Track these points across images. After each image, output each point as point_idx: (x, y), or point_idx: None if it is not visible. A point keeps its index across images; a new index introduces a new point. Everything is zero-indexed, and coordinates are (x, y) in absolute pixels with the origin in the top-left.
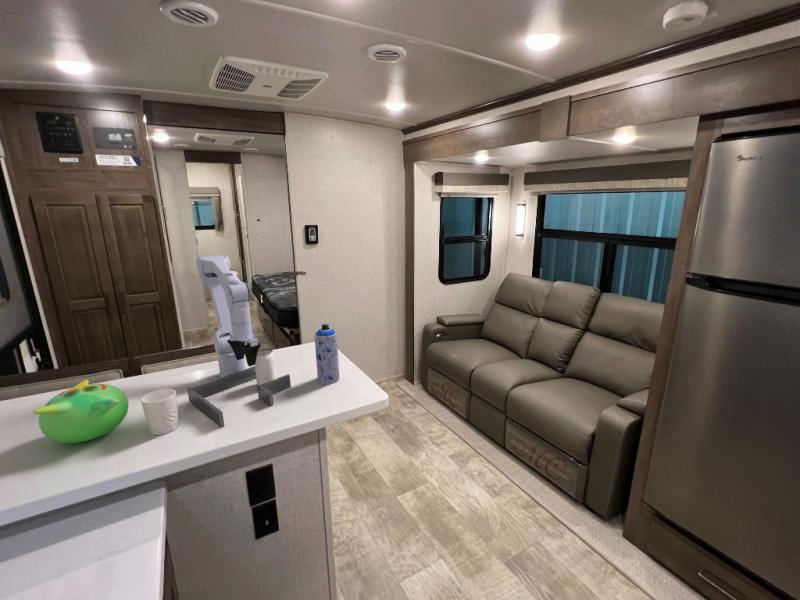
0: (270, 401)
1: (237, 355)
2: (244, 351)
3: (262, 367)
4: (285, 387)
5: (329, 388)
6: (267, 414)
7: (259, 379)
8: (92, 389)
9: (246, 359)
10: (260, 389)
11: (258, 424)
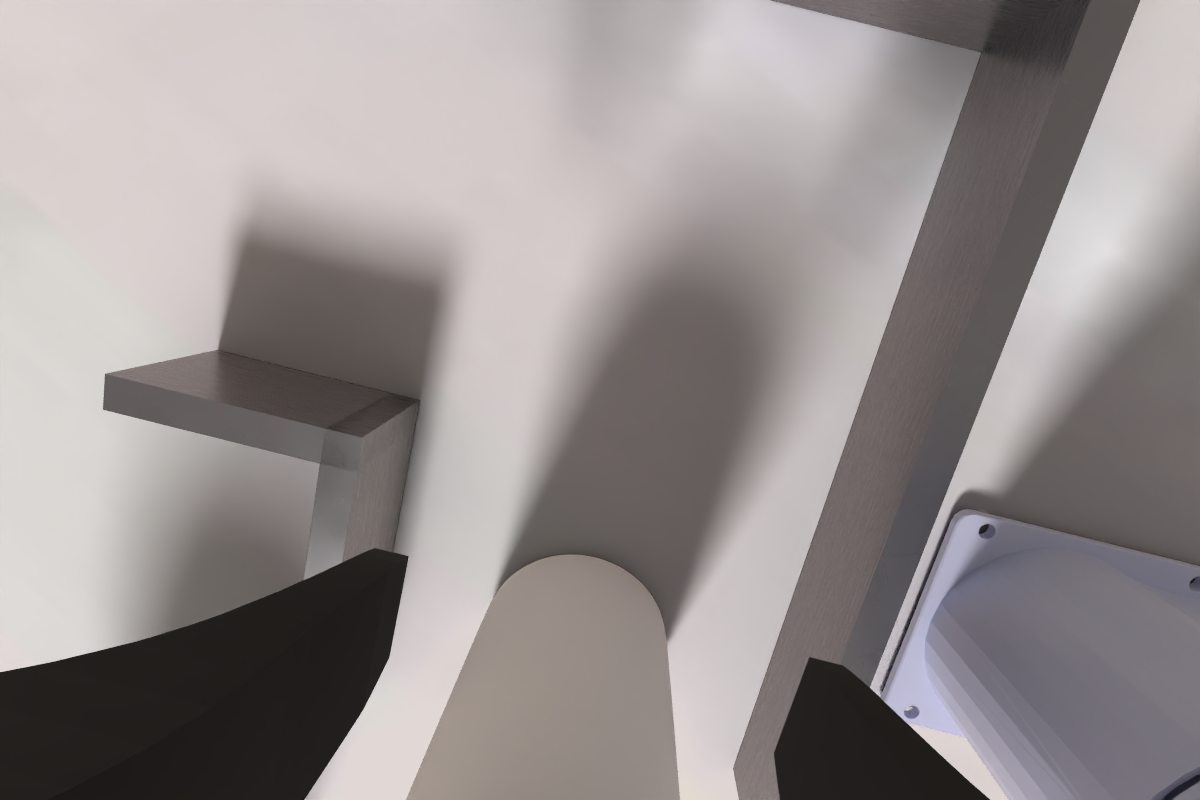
0: (184, 361)
1: (842, 737)
2: (11, 706)
3: (467, 717)
4: None
5: None
6: (124, 234)
7: (554, 599)
8: None
9: (319, 602)
10: (305, 414)
11: (45, 71)
